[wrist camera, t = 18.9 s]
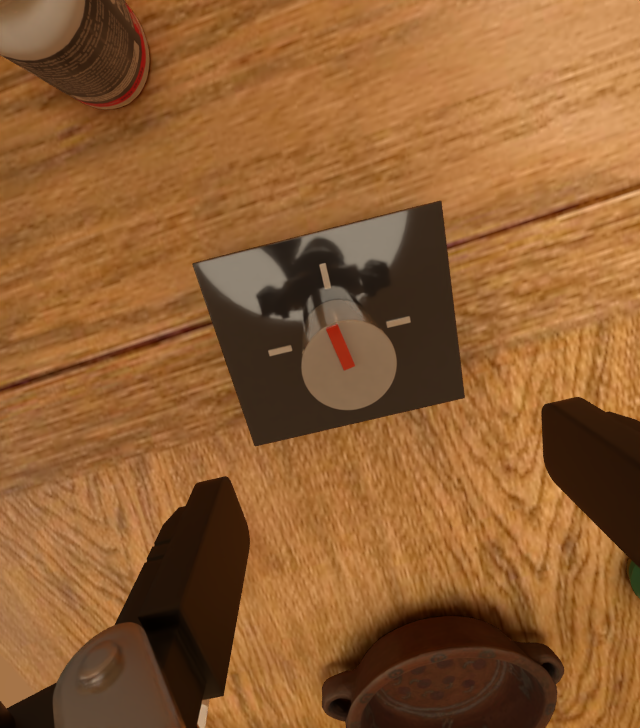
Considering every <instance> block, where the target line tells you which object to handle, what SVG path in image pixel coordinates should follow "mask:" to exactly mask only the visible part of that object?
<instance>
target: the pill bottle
mask: <svg viewBox="0 0 640 728" xmlns="http://www.w3.org/2000/svg"><path fill="white" fill-rule="evenodd" d="M0 55H1V56H3V57H4V58H6V59H8V60H10V61H12V62H13V63H15V64H17V65H19V66H20V67H22V68H24V69H25V70H27V71H29V72H31V73H32V74H34V75H35V76H37V77H39V78H40V79H42V80H44V81H45V82H47V83H48V84H50V85H52V86H54V87H56V88H57V89H59V90H60V91H62V92H64V93H66V94H68V95H69V96H71V97H73V98H75V99H76V100H78V101H80V102H82V103H84V104H86V105H88V106H91V107H94V108H98V109H103V110H104V109H115V108H120V107H122V106H125V105H127V104H129V103H130V102H131V101H133V100H134V99H135V98H136V97H137V96H138V95H139V94H140V92H141V90H142V89H143V87H144V85H145V82H146V80H147V76H148V71H149V49H148V44H147V41H146V37H145V34H144V31H143V29H142V27H141V25H140V23H139V21H138V19H137V18H136V16H135V14H134V13H133V12H132V10H131V9H130V7H129V6H128V5H127V3H126V2H125V0H0Z"/></svg>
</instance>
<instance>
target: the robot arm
mask: <svg viewBox="0 0 640 728" xmlns="http://www.w3.org/2000/svg"><path fill="white" fill-rule="evenodd" d="M542 437H543V457H544V463H545V466H546V469H547V471H548V473H549V475H550V477H551V478H552V480H553V481H554V482H555V484H556V485H557V486H558V487H559V488H560V489H561V490H562V491H563V492H564V493H565V494H566V495H567V496H568V497H569V498H570V499H571V500H572V501H573V502H574V503H575V504H576V505H577V506H578V507H579V508H580V509H581V510H582V511H583V512H584V513H585V514H586V515H587V516H588V517H589V518H590V519H591V520H592V521H593V522H594V523H595V524H596V525H597V526H598V527H599V528H600V529H601V530H602V531H603V532H604V533H605V534H606V535H607V536H608V537H609V538H610V539H611V540H612V541H613V542H614V543H615V544H616V545H617V546H618V547H619V548H620V549H621V550H622V551H623V552H624V553H625V554H626V555H627V556H628V557H629V558H630V559H631V560H632V561H633V562H634V563H635V564H636V565H637V566H638V567H639V568H640V422H639V421H637V420H635V419H632V418H629V417H625V416H622V415H619V414H616V413H612V412H605V411H603V410H601V409H600V408H598V407H596V406H595V405H593V404H591V403H590V402H588V401H586V400H585V399H583V398H580V397H574V398H570V399H566V400H561V401H557V402H553V403H548V404H545V405H544V406H543V408H542ZM154 544H155V546H154V547H152V549H151V551H150V553H149V555H148V557H147V562H146V563H144V566H143V568H142V570H141V572H140V574H139V576H138V578H137V580H136V582H135V584H134V586H133V588H132V590H131V592H130V594H129V596H128V599H127V601H126V603H125V605H124V607H123V609H122V611H121V613H120V615H119V617H118V619H117V621H116V623H115V625H114V626H112V627H109V628H107V629H106V630H104V631H102V632H100V633H99V634H97V635H96V636H95V637H93V638H92V639H91V640H89V641H88V642H87V643H86V644H85V645H84V646H83V647H82V648H81V649H80V650H79V651H78V652H77V653H76V654H75V655H74V656H73V657H72V659H71V660H70V661H69V663H68V664H67V665H66V667H65V669H64V670H63V672H62V673H61V675H60V677H59V679H58V681H57V683H55V684H53V685H51V686H49V687H47V688H45V689H43V690H41V691H39V692H38V693H36V694H34V695H32V696H30V697H28V698H26V699H24V700H22V701H20V702H19V703H16V704H14V705H13V706H11V707H9V708H7V709H6V708H5V706H4V705H3V704H2V703H1V701H0V728H200V727H199V726H198V724H197V722H198V718H199V713H200V709H201V704H202V700H206V699H211V698H216V697H220V696H224V690H225V684H226V679H227V673H228V667H229V662H230V656H231V650H232V645H233V639H234V633H235V627H236V622H237V616H238V610H239V605H240V599H241V593H242V588H243V582H244V576H245V571H246V565H247V559H248V554H249V547H250V538H249V530H248V526H247V522H246V520H245V517H244V514H243V512H242V509H241V506H240V504H239V501H238V499H237V496H236V493H235V491H234V488H233V486H232V483H231V481H230V479H229V478H228V477H226V476H225V477H220V478H216V479H212V480H207V481H203V482H199V483H196V485H195V486H194V488H193V491H192V493H191V495H190V497H189V500H188V502H187V504H186V506H184V507H180V508H178V509H177V510H176V511H175V512H174V513H173V515H172V516H171V517H170V518H169V519H168V520H167V521H166V522H165V523H164V525H163V526H162V528H161V530H160V533H159V535H158V537H157V539H156V541H155V543H154Z"/></svg>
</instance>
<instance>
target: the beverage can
mask: <svg viewBox="0 0 640 728" xmlns="http://www.w3.org/2000/svg"><path fill="white" fill-rule="evenodd" d="M626 572H627V576H628V578H629V579H630V582H631V586H632V589H633V591H634V593H635V594H636V595H637V596H638V597H639V598H640V568H639V567H638V566H637V565H636V564H635V563H634V562H633V561H632V560H631V559H630V558H629V559H628V562H627V566H626Z"/></svg>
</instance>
